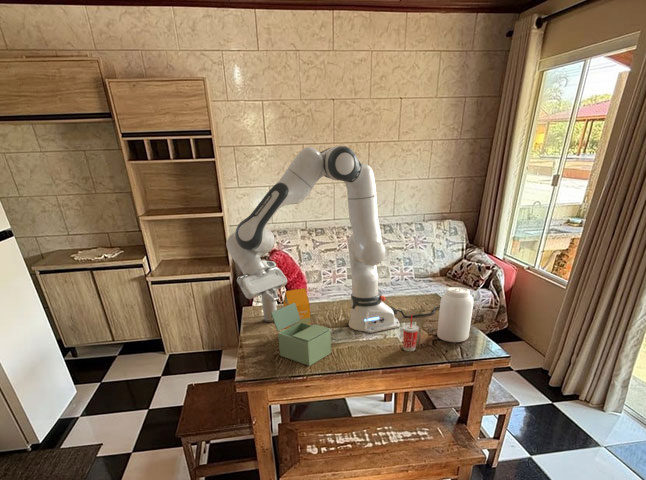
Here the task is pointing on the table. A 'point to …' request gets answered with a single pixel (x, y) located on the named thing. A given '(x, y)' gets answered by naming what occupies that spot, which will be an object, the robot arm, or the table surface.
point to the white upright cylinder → (455, 315)
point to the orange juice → (299, 304)
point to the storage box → (305, 343)
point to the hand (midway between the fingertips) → (275, 300)
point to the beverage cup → (410, 336)
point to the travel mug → (268, 308)
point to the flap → (285, 316)
